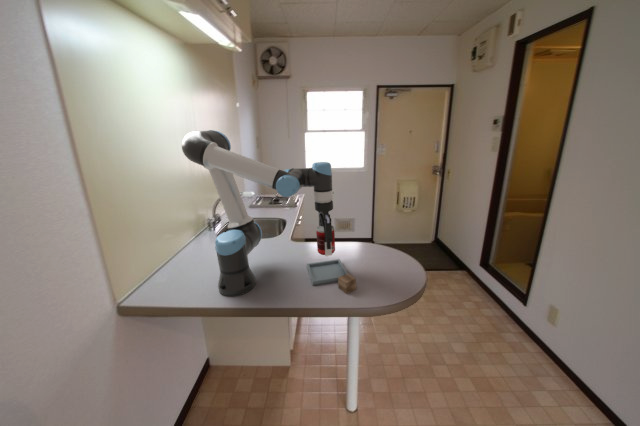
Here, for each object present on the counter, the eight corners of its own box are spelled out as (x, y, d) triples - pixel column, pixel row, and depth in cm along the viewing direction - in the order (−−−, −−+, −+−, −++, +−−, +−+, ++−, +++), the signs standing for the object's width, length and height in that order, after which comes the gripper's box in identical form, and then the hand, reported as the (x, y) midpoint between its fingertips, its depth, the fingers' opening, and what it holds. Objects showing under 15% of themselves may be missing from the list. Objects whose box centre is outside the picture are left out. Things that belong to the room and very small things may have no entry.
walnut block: (346, 294, 108) (345, 282, 106) (338, 288, 112) (338, 277, 110) (355, 289, 110) (355, 278, 109) (348, 284, 114) (348, 273, 113)
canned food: (335, 247, 123) (334, 224, 120) (334, 255, 116) (333, 231, 113) (318, 247, 124) (317, 224, 121) (316, 255, 117) (315, 231, 113)
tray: (312, 285, 114) (312, 281, 114) (306, 267, 129) (306, 263, 129) (349, 279, 117) (349, 275, 117) (339, 262, 132) (339, 259, 132)
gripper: (339, 206, 104) (341, 260, 111) (326, 194, 124) (329, 240, 130) (320, 208, 103) (323, 263, 110) (310, 195, 122) (313, 242, 129)
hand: (326, 250), depth 120 cm, fingers closed on canned food, 8 cm apart
